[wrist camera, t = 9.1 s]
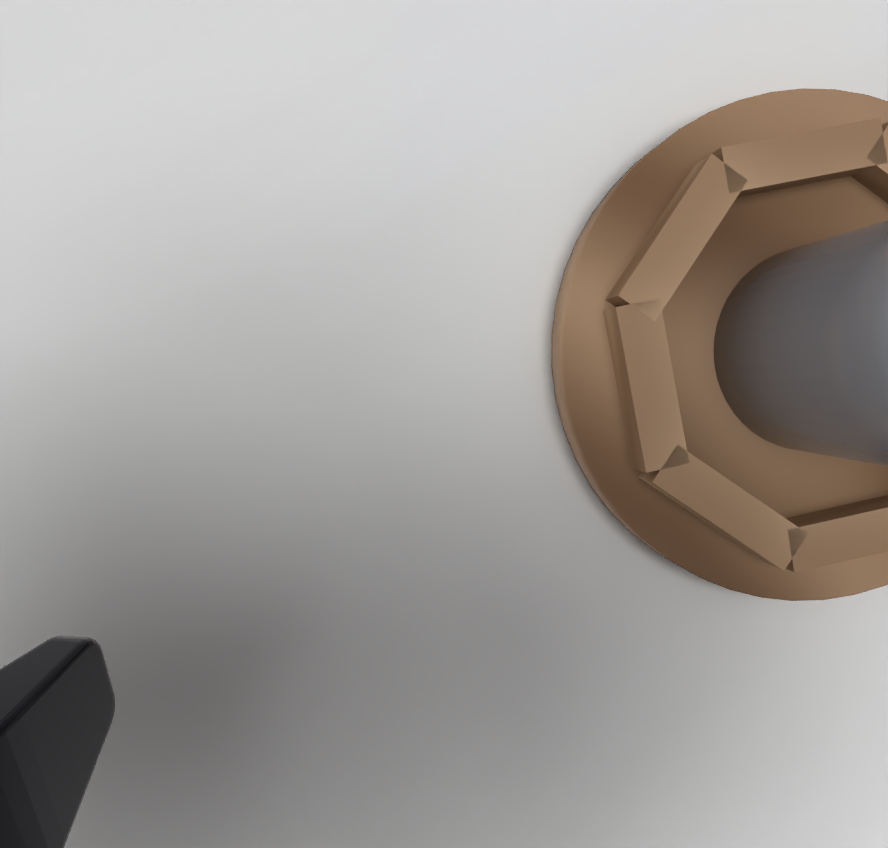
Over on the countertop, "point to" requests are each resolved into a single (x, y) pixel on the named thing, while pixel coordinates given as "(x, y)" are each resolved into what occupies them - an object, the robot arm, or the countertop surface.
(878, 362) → the canister
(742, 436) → the trivet
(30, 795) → the robot arm
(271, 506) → the countertop surface
